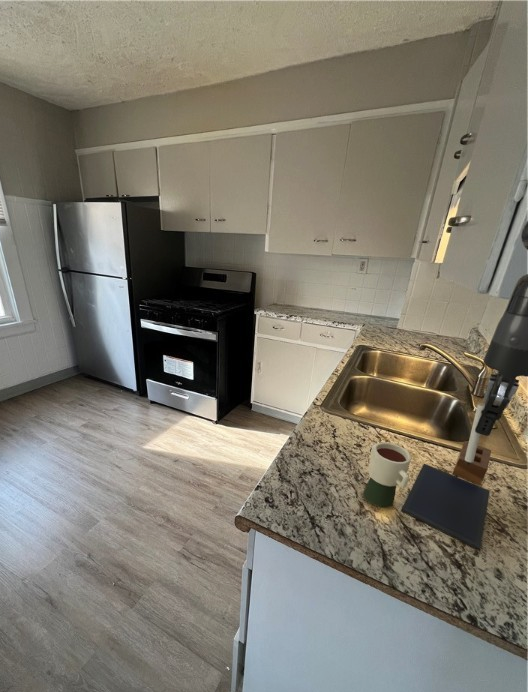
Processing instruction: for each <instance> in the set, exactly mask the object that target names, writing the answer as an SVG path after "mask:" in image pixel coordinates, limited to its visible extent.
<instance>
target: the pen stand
mask: <svg viewBox="0 0 528 692" xmlns="http://www.w3.org/2000/svg"><path fill="white" fill-rule="evenodd" d="M468 443H469V441H466V440H464V441H463V444H462V447H461V449H460V451H459V453H458V456H457V459H456V462H455V465H454V468H453V470H452V473H451V475H453V476H456V477H458V478H461V479H463V480H465V481H468V482H470V483H473V484H475V485H478V486H481V484H482V482H483V480H484V479H485V476H486V474H487V472H488V469H489V464H490V459H491V454H492V449H490V448H486V447H483V446H481V445H479V444H478V445H477V449H476V453H475V457H474V461H473V462H471V464H470V465H467V464H466V461H465V456H466V452H467V447H468Z"/></svg>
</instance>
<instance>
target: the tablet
mask: <svg viewBox="0 0 528 692" xmlns="http://www.w3.org/2000/svg"><path fill="white" fill-rule="evenodd" d="M490 493H491V490H490V489H487V488H484V487H483V486H481V485H477V484H475V483H472V482H470V481H468V480H465V479H463V478H460V477H458V476H455V475H453V474H452V473H451V474H450V473H449V472H446V471H444V470H441V469H438V468H437V467H433V466H431V465H429V464H427V463H423V464H422V466H421V467H420V470H419V473H418V474H417V476H416V479H415V481H414V483H413V484H412V487H411V489H410V491H409V493H408V495H407V497H406V498H405V500H404V503H403V505H402V507H401V510H400V511H401V512H402V513H403V514H406V515H408V516H410V517H412V518H414V519H416V520H418V521H420V522H422V523H424V524H426V525H428V526H430V527H432V528H433V529H435V530H438V531H439V532H442V533H443V534H445V535H447V536H450V537H451V538H453V539H455V540H457V541H459V542H461V543H463V544H465V545H467V546H468V547H471V548H473V549H475V550H476V551H481V548H482V542H483V541H482V540H483V537H484V528H485V523H486V518H487V510H488V505H489V498H490Z"/></svg>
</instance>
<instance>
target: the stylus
mask: <svg viewBox="0 0 528 692" xmlns="http://www.w3.org/2000/svg"><path fill="white" fill-rule="evenodd" d="M484 405H485V404H484V403H477V405H476V410H475V414H474V418H473V423H472V427H471V430H470V435H469V438H468V439H469V440H468V442H469V443H468V447H467V452H466V456H465V461H466V464H467V465H470V464H471V462H473V461H474V457H475V453H476V449H477V445H478V446H479V442H480V441H479V440H480V437H481V434H479V433H476V432H475V428H476V426H477V424H478V421H479V419H480V417H481V410H483V408H484Z"/></svg>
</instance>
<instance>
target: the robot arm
mask: <svg viewBox="0 0 528 692" xmlns="http://www.w3.org/2000/svg"><path fill="white" fill-rule="evenodd" d="M520 240H521V243H522V246H523V248H524V249H525V250H527V251H528V220H527V221H526V223H524V225H523V228H522V229H521V234H520ZM483 365H485V366H486V367H487V368H488V369H491V370H495V371H497V372H496V373H490V376H489V378H488V381H487V385H486V390H485V393H484V396H483V399H482V404H485V405H484V408H483V410H481V417H480V419H479V421H478V424H477V426H476V428H475V432H476V433H479V434H480V435H482V436H485V437H488V436H490V435H491V433H492V431H493V428H494V426H495V424H496V421H499V420H500V419H501V418H502V415H503V413H504V411H505V410H506V409H507V408H508V406H509V404H510V402H511V400H512V398H513V396H514V395H515V394H517V391H518V390H519V386H520V384H519V383H520V379H518V377H524V378H526V377H527V378H528V273H527V274H523V275H521V277H519V278H518V279H517V281H516V283H515V285H514V287H513V289H512V292H511V294H510V297H509V299H508V302H507V305H506V307H505V310H504V312H503V314H502V316H501V317H500V319H499V320H498V323H497V325H496V328H495V330H494V333H493V334H492V338H491V340H490V343H489V345H488V348H487V350H486V353H485V356H484V358H483Z"/></svg>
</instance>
